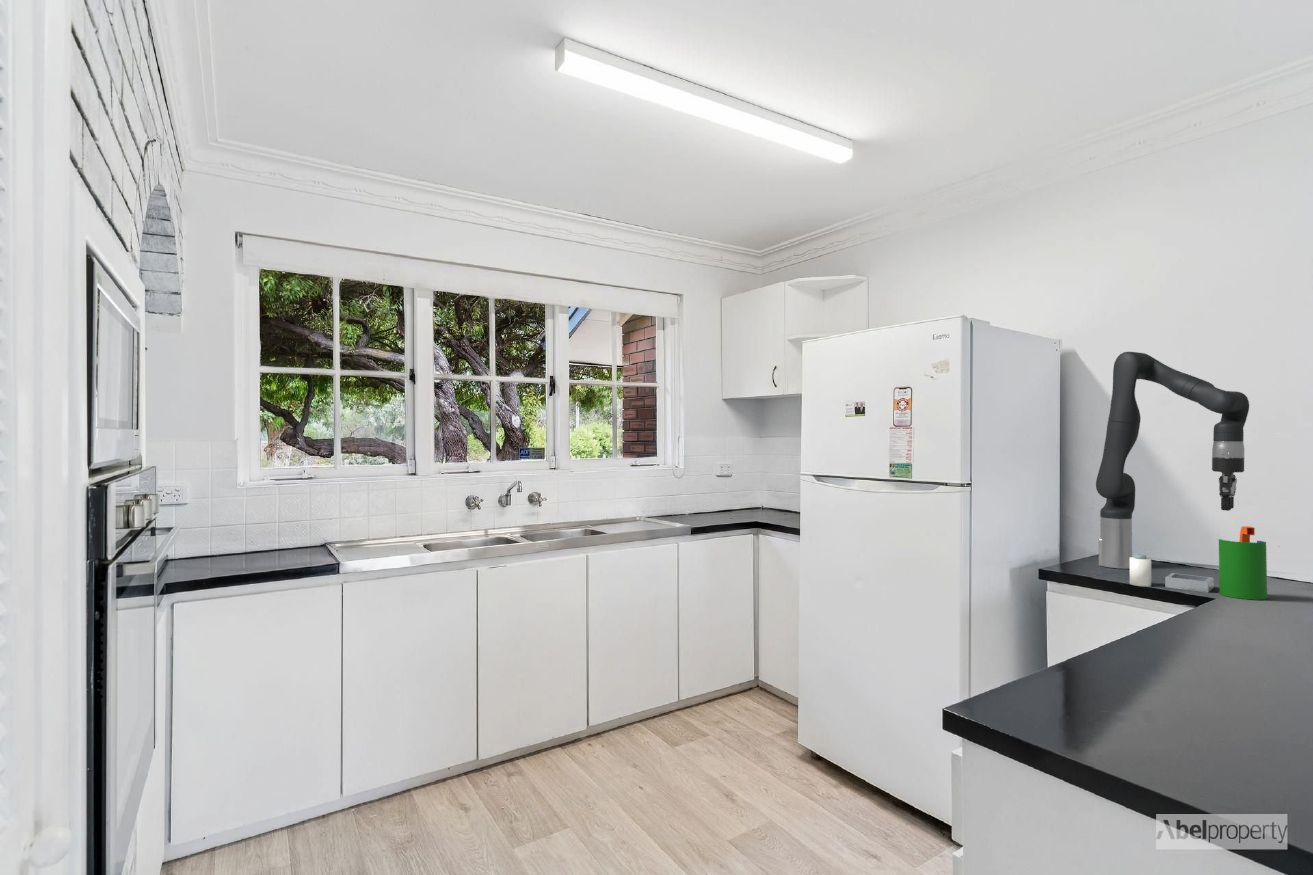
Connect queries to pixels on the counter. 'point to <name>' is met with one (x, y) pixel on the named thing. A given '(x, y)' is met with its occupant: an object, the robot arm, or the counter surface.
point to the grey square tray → (1189, 582)
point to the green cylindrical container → (1243, 567)
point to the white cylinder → (1140, 570)
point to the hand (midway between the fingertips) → (1227, 509)
